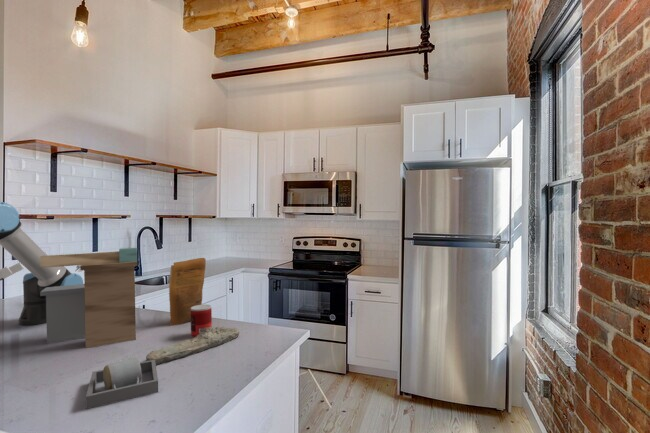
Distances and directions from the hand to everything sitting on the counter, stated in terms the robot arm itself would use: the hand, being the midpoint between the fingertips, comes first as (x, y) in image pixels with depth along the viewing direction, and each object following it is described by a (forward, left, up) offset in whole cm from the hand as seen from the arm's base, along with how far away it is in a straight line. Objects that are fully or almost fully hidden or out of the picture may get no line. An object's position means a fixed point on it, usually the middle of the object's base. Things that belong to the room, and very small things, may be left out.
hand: (15, 267), depth 122 cm
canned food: (+16, +60, -30) cm, 69 cm away
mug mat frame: (+50, +34, -30) cm, 67 cm away
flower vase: (-77, +15, -30) cm, 84 cm away
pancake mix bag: (-6, +58, -30) cm, 66 cm away
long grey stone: (+30, +56, -31) cm, 70 cm away
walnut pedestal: (+4, +29, -30) cm, 42 cm away
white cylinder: (+50, +34, -31) cm, 68 cm away
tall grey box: (-9, +16, -30) cm, 35 cm away
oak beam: (+4, +23, 0) cm, 23 cm away
